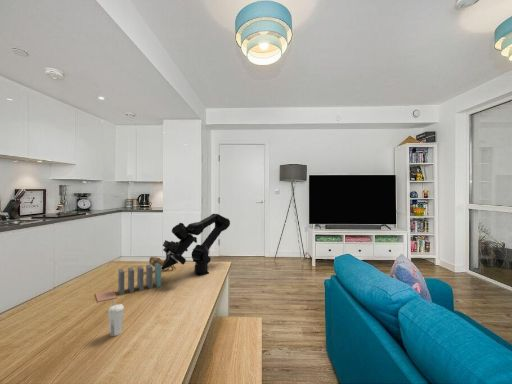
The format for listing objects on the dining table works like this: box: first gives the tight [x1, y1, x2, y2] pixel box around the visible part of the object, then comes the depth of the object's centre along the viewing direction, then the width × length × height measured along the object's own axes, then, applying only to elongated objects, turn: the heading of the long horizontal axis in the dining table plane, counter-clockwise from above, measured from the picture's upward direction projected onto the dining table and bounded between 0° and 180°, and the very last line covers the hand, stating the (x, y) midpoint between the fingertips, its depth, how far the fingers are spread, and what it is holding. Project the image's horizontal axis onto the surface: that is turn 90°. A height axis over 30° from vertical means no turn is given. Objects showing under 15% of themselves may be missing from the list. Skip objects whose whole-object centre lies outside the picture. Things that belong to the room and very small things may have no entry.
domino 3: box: [136, 265, 145, 292], centre depth 118 cm, size 2×5×10 cm, turn 37°
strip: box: [95, 289, 117, 303], centre depth 109 cm, size 7×10×1 cm
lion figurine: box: [148, 255, 177, 272], centre depth 144 cm, size 15×5×9 cm, turn 118°
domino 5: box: [154, 263, 162, 288], centre depth 122 cm, size 2×5×10 cm, turn 37°
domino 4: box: [145, 264, 154, 290], centre depth 120 cm, size 2×5×10 cm, turn 37°
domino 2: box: [127, 267, 135, 294], centre depth 115 cm, size 2×5×10 cm, turn 37°
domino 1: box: [117, 268, 125, 296], centre depth 113 cm, size 2×5×10 cm, turn 37°
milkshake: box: [107, 299, 125, 337], centre depth 81 cm, size 4×5×10 cm
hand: (161, 269), depth 124 cm, fingers closed
